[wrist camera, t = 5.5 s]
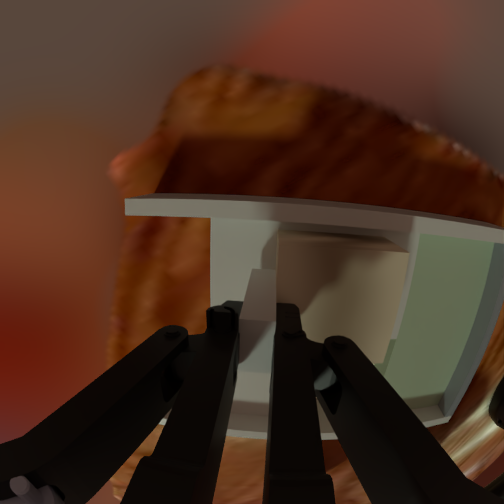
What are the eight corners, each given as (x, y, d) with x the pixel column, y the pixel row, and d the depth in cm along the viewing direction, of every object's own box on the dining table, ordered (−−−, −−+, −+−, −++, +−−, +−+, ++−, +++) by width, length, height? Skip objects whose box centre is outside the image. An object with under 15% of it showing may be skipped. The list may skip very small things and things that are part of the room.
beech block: (383, 236, 17) (409, 252, 13) (366, 331, 19) (382, 363, 15) (277, 229, 18) (278, 244, 14) (270, 329, 20) (269, 363, 16)
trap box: (486, 222, 18) (518, 233, 14) (432, 395, 23) (447, 422, 19) (153, 193, 20) (125, 198, 16) (170, 392, 25) (155, 423, 21)
